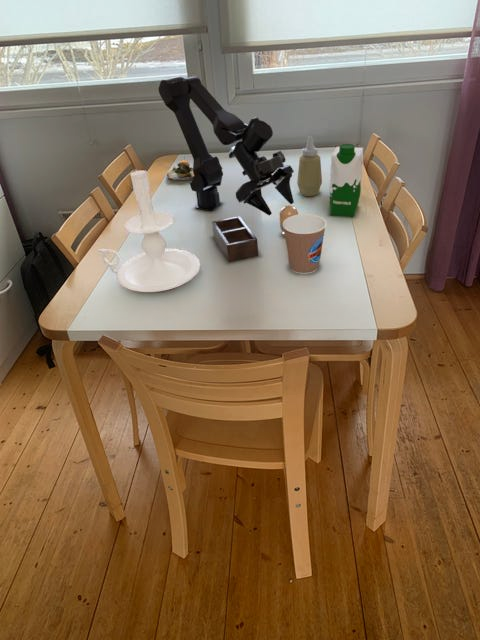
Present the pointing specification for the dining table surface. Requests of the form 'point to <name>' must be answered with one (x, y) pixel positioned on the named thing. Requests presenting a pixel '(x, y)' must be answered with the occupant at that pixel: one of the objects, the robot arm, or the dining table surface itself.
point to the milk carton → (345, 180)
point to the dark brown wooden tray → (235, 239)
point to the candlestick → (152, 248)
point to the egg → (286, 215)
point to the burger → (181, 171)
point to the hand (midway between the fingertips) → (281, 208)
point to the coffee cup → (304, 241)
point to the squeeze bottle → (309, 170)
